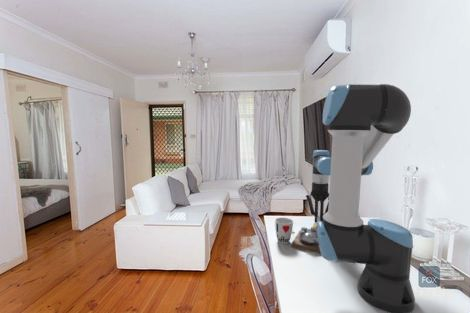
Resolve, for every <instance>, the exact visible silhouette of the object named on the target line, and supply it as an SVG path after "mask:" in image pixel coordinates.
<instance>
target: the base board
mask: <svg viewBox="0 0 470 313" xmlns="http://www.w3.org/2000/svg"><path fill="white" fill-rule="evenodd" d="M291 248H292V249H298V250H301V251H306V252H311V253H315V254H319V255H321V252H320V248H319V245H318V246H312V245H307V244H304V243H302V242H301V241H300V240H299V232H298V233H297V234H296V236H295V237H294V239H293V240H292V242H291Z"/></svg>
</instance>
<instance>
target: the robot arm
mask: <svg viewBox="0 0 470 313" xmlns="http://www.w3.org/2000/svg"><path fill="white" fill-rule="evenodd" d="M322 110H323V111H322V124H323V125H324V126H327V132H328V133H329V134H330V135H331V138H332V140H331V142H332V143H331V152H330V151H329V150H327V149H326V150H325V149H324V150H323V149H315V150H313V152H312V153H313V154H312V174H311V176H312V177H311V181H312V182H311V191H310V193H307V194H306V195H305V198H306V200H307V202H308V207H309V211H310V215H312V216H314V223H317V237H318V243H319V248H320V252H321V254H320V255H321V256H322V258H323V259H325V260H326V261H332V262H336V263H339V262H340V263H351V264H360V265H362V264H363V265H365V266H364V269H363V270H362V273H361V274H360V276H359V278H358V280H357V292H358V293H359V295H360V296H361V298H363V300H365V301H366V302H367V303H369V304H371V305H372V306H373V307H376V308H378V309H380V310H384V311H387V312H390V313H410V312H412V311H413V310H414V309H415V304H416V298H415V293H414V290H413V287H412V284H411V281H410V279H411V278H410V275H411V267H412V255H413V249H414V243H413V242H414V240H413V233H411V231H410V230H409V229H408V228H406V227H404V226H402V225H400V224H398V223H394V222H392V221H389V220H386V219H379V218H372V219H369V220H368V222H367V224H364V220H363V219H362V218H361V217H360V215H359V208H360V197H361V184H362V183H361V182H362V176H370V175H372V173H373V170H374V162H373V161H374V160H375V159H376V157H377V156H378V155H379V154H380V152H381V151H382V150H383V148H385V146H386V145H387V144H388V142H389V141H390V139H391V138H392V137H393V135H396V134H399V133H400V132H401V131H402V130H403V129H404V128H405V126H406V125H407V124H408V122H409V120H410V117H411V114H412V105H411V101H410V99H409V97H408V95H407V94H406V92H404V91H403V90H402V89H400V88H399V87H397V86H395V85H393V84H387V83H386V84H385V83H384V84H383V83H381V84H343V85H342V84H340V85H335V86H332V87H331V88H330V90H329V91H328V93H327V95H326V98H325V101H324V105H323V109H322ZM330 154H331V155H330ZM312 199H313V200H314V204H313V200H312ZM326 200H328V201H327V204H326V208H325V209H324V205H325V201H326ZM319 206H320V207H319ZM324 210H325V211H324Z"/></svg>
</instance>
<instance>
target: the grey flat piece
mask: <svg viewBox="0 0 470 313" xmlns="http://www.w3.org/2000/svg"><path fill="white" fill-rule="evenodd" d="M298 233H299V240H300V241H301V242H302V243H304V244H307V245H312V246H318V245H319V243H318V237H317V223H315V222H314V223H313V225H312V226H311V227H310V228H308V227H304V226H303V227H301V228H300V230H299V231H298Z"/></svg>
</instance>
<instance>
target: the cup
mask: <svg viewBox="0 0 470 313" xmlns="http://www.w3.org/2000/svg"><path fill="white" fill-rule="evenodd" d="M274 222H275V223H274V224H275V225H274V226H275V234H276V238H277V242H278V243H279V244H283V245H286V244H288V243H289V242H290V240H291V239H292V238H291V237H292V234H293V233H292V231H293V227H294V225H293V224H294V220H293V219H291V218H287V217H277V218H275V221H274Z"/></svg>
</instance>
